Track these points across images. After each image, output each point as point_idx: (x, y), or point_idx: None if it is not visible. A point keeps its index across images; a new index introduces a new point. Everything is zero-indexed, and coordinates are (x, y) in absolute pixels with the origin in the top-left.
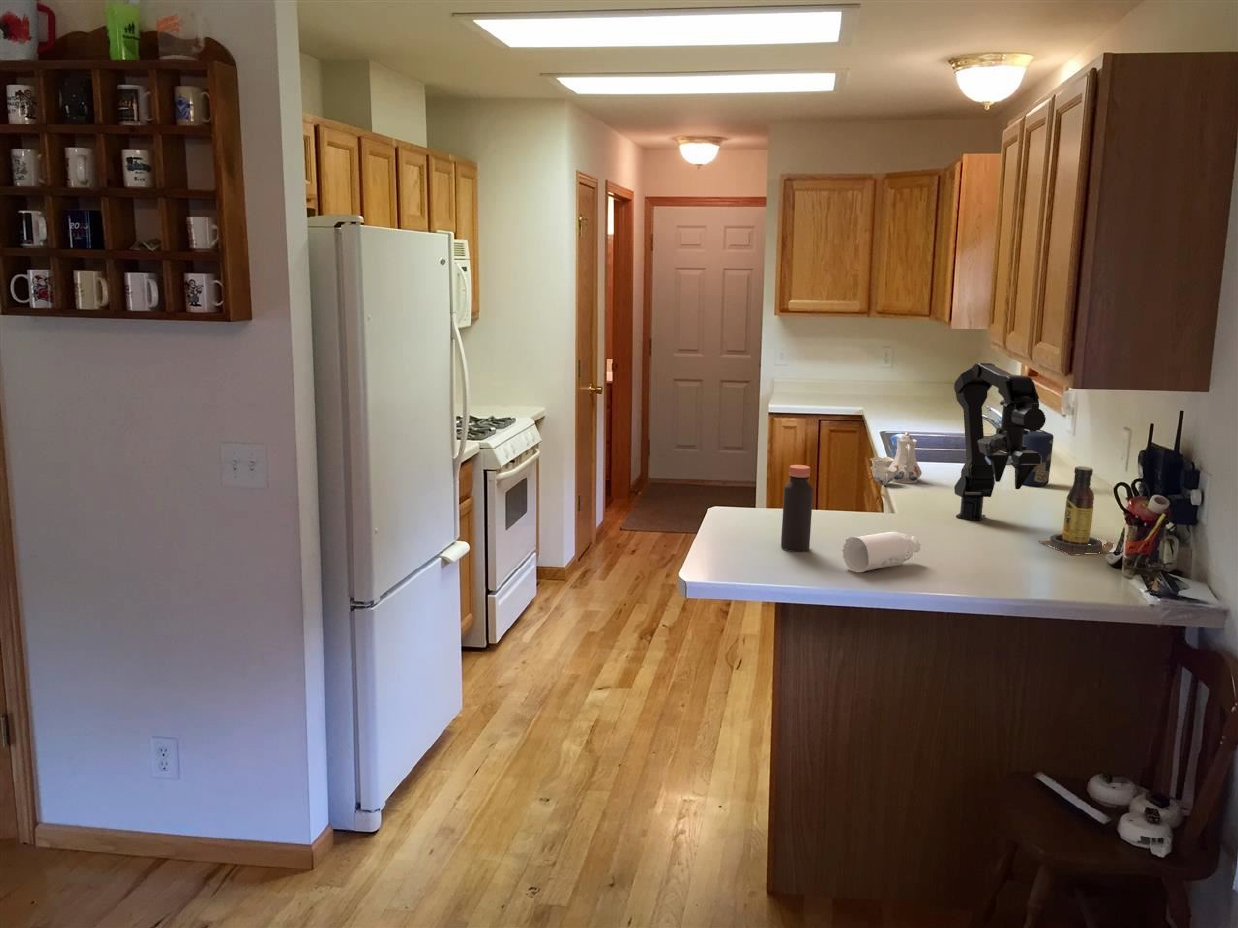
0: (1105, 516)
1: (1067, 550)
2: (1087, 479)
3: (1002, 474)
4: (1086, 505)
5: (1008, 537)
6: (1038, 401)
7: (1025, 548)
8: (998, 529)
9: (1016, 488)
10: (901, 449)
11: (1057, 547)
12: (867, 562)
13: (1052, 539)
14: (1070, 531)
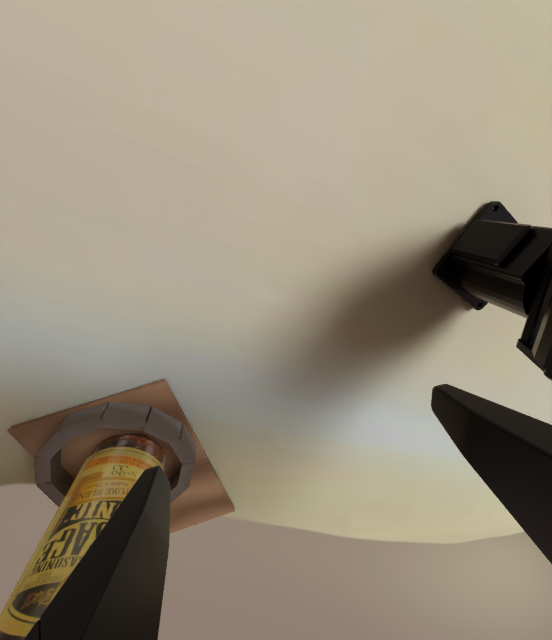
0: (426, 534)
1: (54, 429)
2: None
3: (476, 470)
4: None
5: (219, 304)
6: None
7: (58, 317)
8: (327, 303)
9: (142, 474)
10: None
11: (78, 412)
12: None
13: (99, 417)
14: (73, 486)
